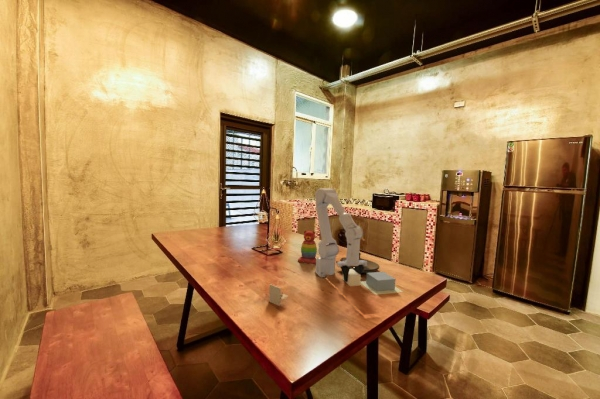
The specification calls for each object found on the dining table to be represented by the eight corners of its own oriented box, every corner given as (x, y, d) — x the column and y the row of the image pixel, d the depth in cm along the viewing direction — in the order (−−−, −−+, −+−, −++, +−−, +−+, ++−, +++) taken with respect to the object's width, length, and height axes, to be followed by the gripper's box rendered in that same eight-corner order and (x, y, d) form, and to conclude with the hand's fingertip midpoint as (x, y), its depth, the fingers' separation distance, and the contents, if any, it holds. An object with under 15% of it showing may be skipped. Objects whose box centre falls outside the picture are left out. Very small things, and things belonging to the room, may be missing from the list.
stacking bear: (296, 262, 150) (298, 231, 148) (301, 257, 160) (303, 228, 158) (315, 264, 147) (316, 233, 145) (319, 259, 157) (320, 230, 155)
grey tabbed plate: (274, 299, 104) (275, 281, 104) (287, 305, 100) (288, 286, 100) (268, 302, 102) (269, 284, 101) (282, 308, 98) (282, 289, 97)
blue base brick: (377, 291, 112) (377, 280, 112) (366, 283, 121) (366, 272, 121) (394, 289, 115) (395, 278, 115) (382, 281, 124) (383, 271, 123)
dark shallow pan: (328, 273, 135) (329, 258, 135) (349, 259, 160) (350, 246, 160) (370, 284, 123) (371, 268, 123) (386, 267, 149) (387, 254, 148)
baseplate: (375, 297, 109) (375, 294, 109) (358, 283, 123) (358, 281, 123) (403, 294, 114) (403, 291, 113) (383, 281, 127) (384, 279, 127)
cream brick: (350, 287, 117) (350, 275, 117) (342, 280, 125) (342, 269, 124) (359, 286, 119) (360, 275, 118) (351, 280, 126) (352, 268, 126)
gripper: (342, 255, 114) (340, 285, 116) (371, 254, 119) (369, 283, 120) (335, 251, 121) (334, 279, 122) (363, 250, 125) (361, 277, 127)
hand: (351, 280), depth 121 cm, fingers closed on cream brick, 5 cm apart
